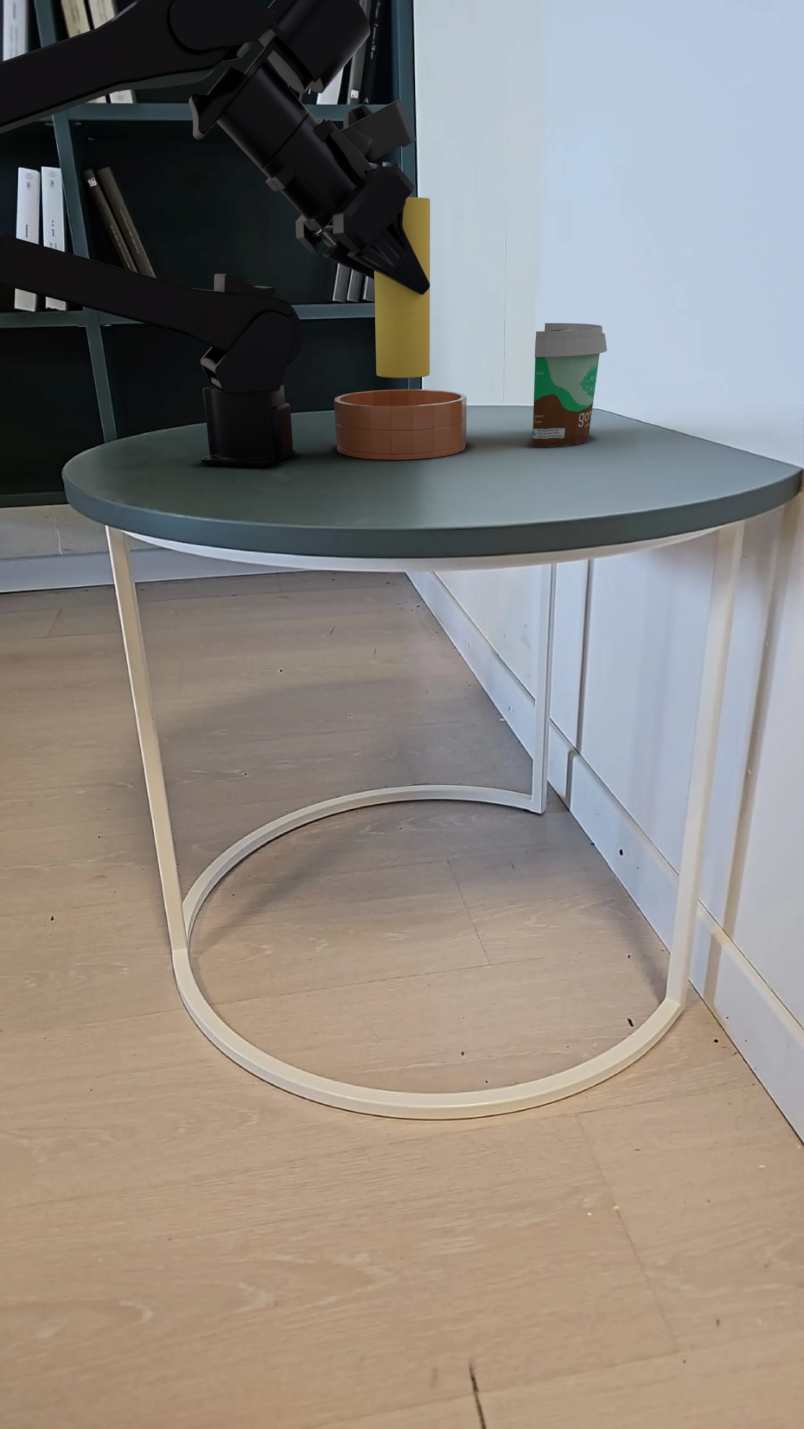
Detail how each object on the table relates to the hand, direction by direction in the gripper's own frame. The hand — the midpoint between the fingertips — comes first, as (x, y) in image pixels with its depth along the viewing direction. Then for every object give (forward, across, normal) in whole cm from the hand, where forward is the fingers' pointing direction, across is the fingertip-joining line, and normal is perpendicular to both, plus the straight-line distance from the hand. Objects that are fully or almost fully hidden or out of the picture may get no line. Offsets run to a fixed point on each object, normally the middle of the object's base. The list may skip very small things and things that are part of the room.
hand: (417, 289), depth 84 cm
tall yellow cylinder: (+4, 0, +6) cm, 7 cm away
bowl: (+8, 0, +10) cm, 14 cm away
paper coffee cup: (+20, -1, -1) cm, 20 cm away
